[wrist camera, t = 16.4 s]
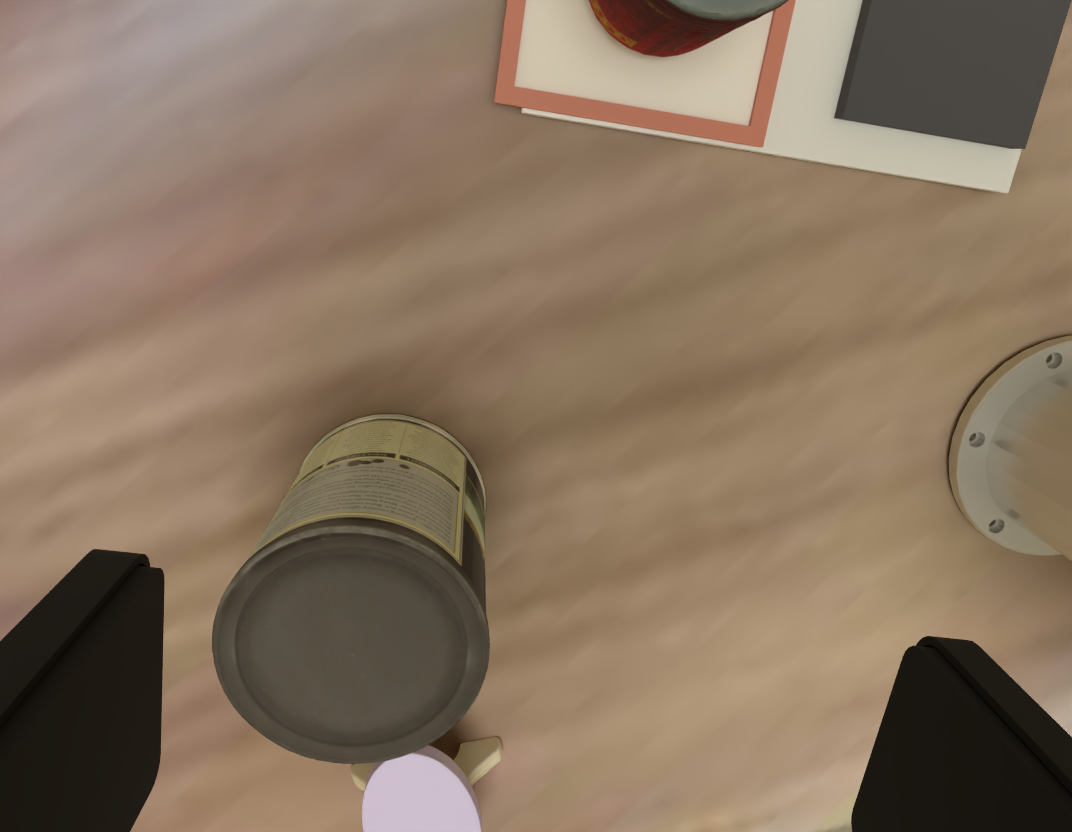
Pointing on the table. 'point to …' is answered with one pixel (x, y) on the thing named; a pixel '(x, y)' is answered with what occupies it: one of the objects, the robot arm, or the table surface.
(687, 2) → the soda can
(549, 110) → the red bordered square panel
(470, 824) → the toy table
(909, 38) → the ink pad
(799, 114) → the board
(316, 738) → the coffee can
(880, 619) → the table surface
